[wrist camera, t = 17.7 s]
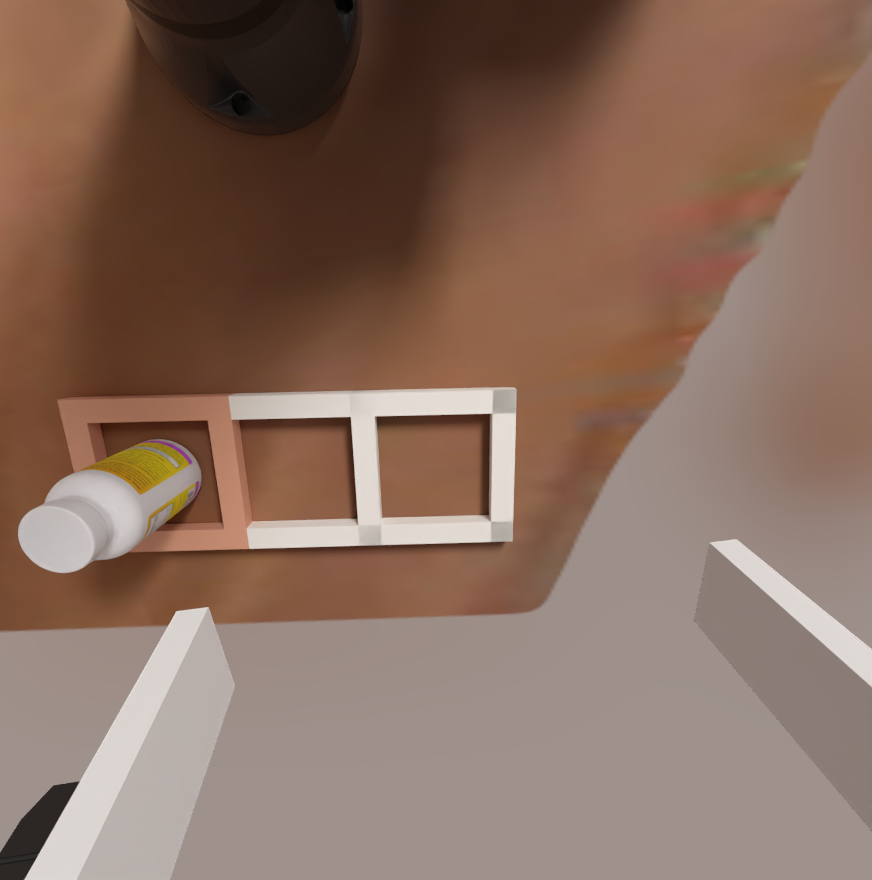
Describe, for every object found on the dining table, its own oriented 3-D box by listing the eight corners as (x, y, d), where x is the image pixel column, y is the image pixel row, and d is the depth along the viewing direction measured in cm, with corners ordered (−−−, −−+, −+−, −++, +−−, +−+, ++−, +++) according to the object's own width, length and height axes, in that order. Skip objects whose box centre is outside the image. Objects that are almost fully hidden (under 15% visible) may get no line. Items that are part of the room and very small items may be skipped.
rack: (513, 387, 40) (516, 389, 38) (509, 533, 43) (512, 541, 42) (70, 397, 39) (57, 400, 38) (104, 545, 43) (93, 553, 41)
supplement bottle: (120, 440, 40) (-16, 494, 28) (195, 433, 40) (92, 485, 28) (139, 510, 42) (19, 591, 29) (212, 504, 42) (121, 582, 29)
